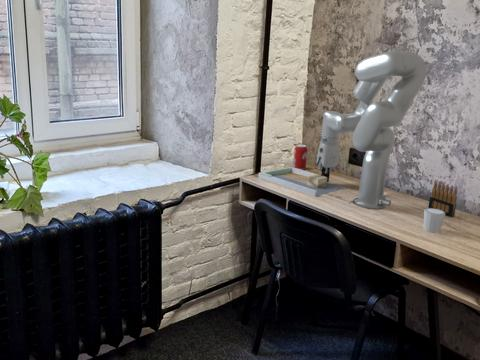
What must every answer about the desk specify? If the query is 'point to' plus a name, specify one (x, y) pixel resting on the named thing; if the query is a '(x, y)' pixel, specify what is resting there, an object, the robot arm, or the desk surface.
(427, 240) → the desk surface
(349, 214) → the desk surface
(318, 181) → the wooden block
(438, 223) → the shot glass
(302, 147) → the beverage can
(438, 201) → the ammunition clip
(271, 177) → the box
